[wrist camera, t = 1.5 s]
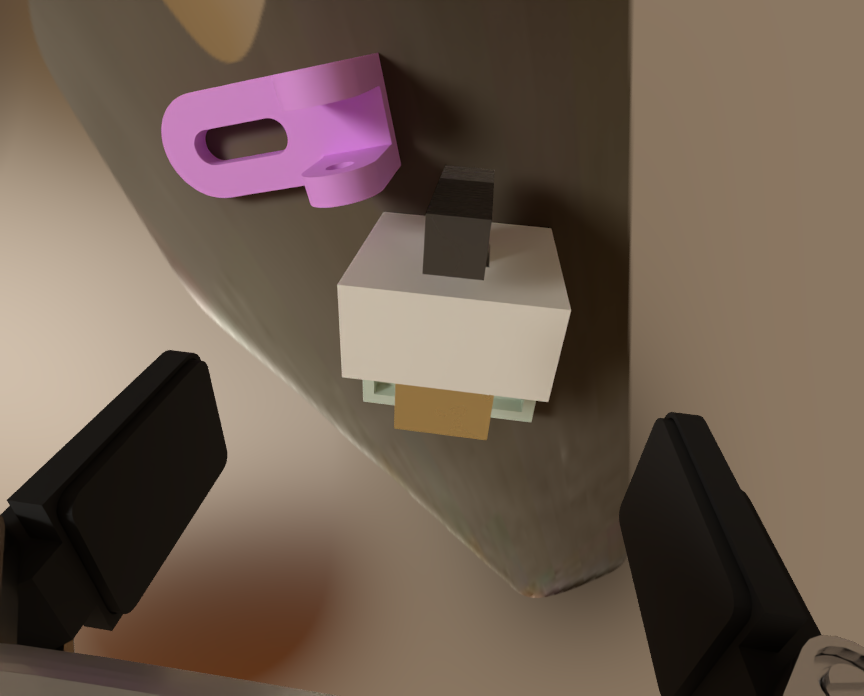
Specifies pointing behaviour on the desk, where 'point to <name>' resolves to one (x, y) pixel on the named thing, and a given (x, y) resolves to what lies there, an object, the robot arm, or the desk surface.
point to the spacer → (442, 411)
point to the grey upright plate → (459, 223)
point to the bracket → (292, 134)
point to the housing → (454, 313)
